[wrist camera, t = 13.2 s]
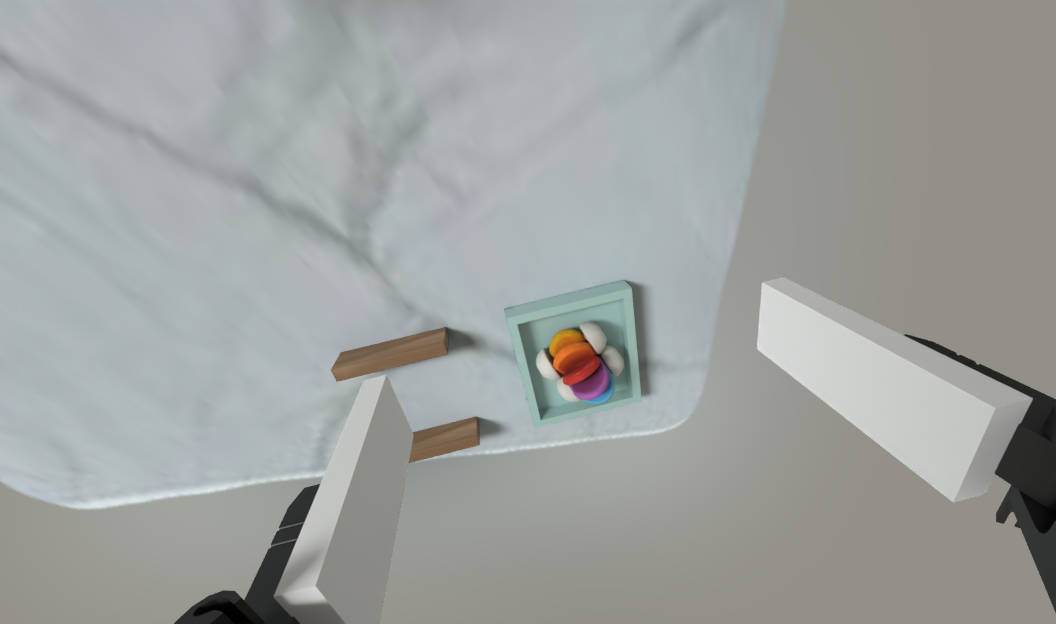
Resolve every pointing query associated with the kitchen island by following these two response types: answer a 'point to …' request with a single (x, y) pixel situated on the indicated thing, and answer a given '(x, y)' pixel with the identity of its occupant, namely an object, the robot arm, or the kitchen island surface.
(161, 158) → the kitchen island surface
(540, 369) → the rainbow disc toy
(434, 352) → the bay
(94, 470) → the kitchen island surface
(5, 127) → the kitchen island surface
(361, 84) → the kitchen island surface
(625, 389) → the tray
